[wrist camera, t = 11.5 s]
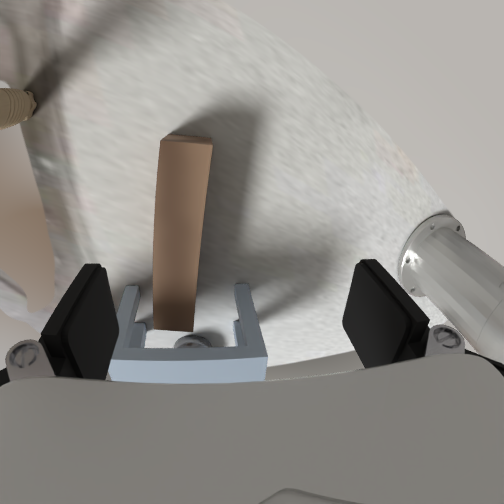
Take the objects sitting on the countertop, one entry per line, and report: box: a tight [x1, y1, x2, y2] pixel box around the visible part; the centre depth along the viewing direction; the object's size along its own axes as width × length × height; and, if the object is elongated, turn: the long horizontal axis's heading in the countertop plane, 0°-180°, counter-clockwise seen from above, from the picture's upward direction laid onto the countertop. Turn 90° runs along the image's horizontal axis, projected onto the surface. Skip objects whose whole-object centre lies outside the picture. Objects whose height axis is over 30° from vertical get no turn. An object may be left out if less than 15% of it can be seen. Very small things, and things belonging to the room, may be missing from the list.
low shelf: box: [108, 284, 268, 384], centre depth 30 cm, size 14×7×12 cm, turn 87°
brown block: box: [153, 134, 213, 332], centre depth 28 cm, size 4×18×6 cm, turn 171°
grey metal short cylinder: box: [174, 335, 212, 348], centre depth 37 cm, size 5×5×2 cm
